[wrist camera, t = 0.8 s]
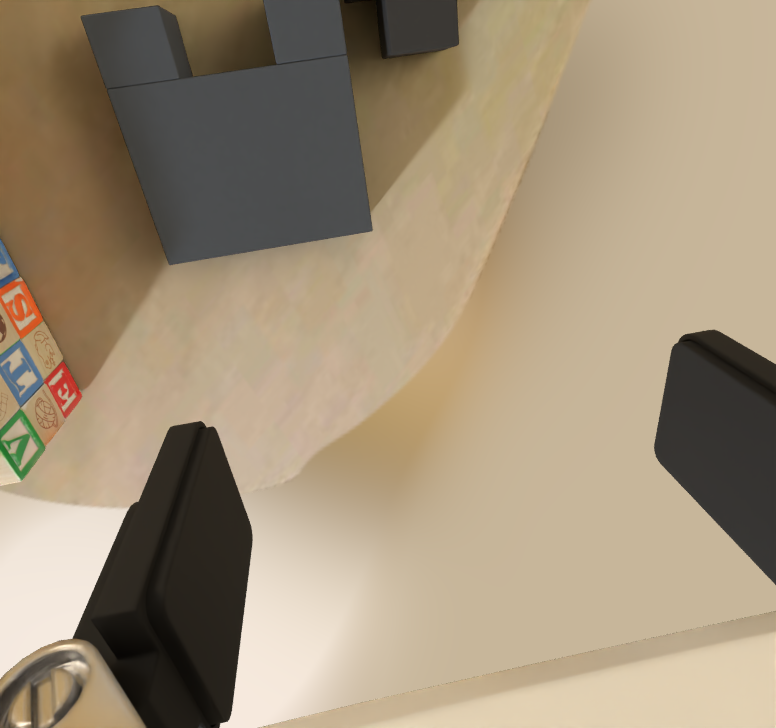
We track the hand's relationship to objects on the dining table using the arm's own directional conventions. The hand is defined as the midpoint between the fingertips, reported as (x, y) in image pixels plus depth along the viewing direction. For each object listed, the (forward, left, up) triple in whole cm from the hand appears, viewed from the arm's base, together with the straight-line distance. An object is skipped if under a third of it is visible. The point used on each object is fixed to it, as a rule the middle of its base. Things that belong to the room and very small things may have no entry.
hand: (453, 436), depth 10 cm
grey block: (-5, -5, -25) cm, 26 cm away
